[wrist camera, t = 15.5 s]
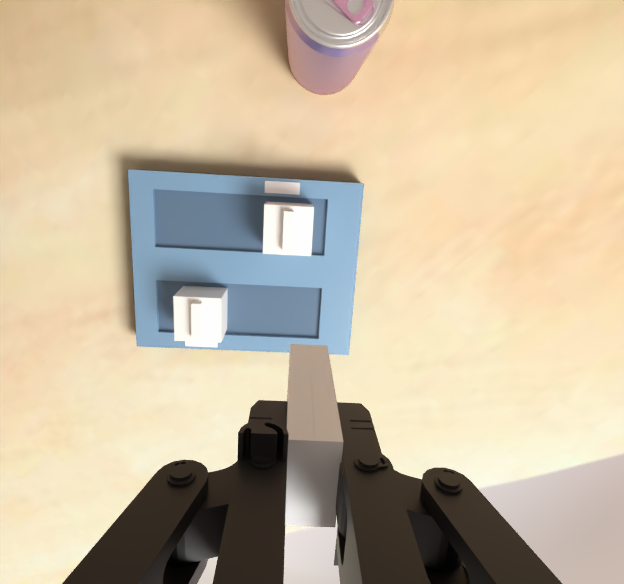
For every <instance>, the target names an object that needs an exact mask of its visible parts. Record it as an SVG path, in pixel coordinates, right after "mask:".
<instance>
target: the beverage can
mask: <svg viewBox="0 0 624 584" xmlns="http://www.w3.org/2000/svg"><path fill="white" fill-rule="evenodd" d="M393 5H394V0H285V14H286V29H287V44H288V58H289V65H290V68H291V71H292V74H293V76H294V77H295V79H296V80H297V82H298V83H299V84H300V85H301V86H302V87H303V88H305V89H306V90H308V91H310V92H312V93H315V94H319V95H330V94H334V93H337V92H339V91H341V90H343V89H344V88H345V87H347V86H348V85H349V84H350V83H351V81H352V80H353V79H354V77H355V75H356V74H357V72H358V71H359V69H360V68H361V66H362V64H363V63H364V61H365V60H366V58H367V57H368V55H369V53H370V52H371V50H372V49H373V47H374V45H375V44H376V42H377V41H378V39H379V38H380V36H381V34H382V33H383V31H384V30H385V28H386V26H387V24H388V22H389V20H390V17H391V14H392V10H393Z"/></svg>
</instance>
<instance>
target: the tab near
mask: <svg viewBox="0 0 624 584" xmlns="http://www.w3.org/2000/svg"><path fill="white" fill-rule="evenodd" d="M313 219H314V206H313V204H305V203H288V202H270V201H267V202H266V203H265V204H264V228H263V254H277V255H297V256H311V252H312V236H313Z"/></svg>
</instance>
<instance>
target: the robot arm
mask: <svg viewBox="0 0 624 584" xmlns="http://www.w3.org/2000/svg"><path fill="white" fill-rule="evenodd" d="M336 515H337V524H338V529H337V539H336V550H335V560H334V565H338V566H339V575H340V584H562V583H561V582H560V581H559V580H558V578H557V577H556V576H555V575H554V574H553V573H552V572H551V571H550V569H549V568H548V567H547V566H546V565H545V564H544V563H543V562H542V561H541V559H540V558H539V557H538V556H537V555H536V554H535V553H534V552H533V550H532V549H531V548H530V547H529V546H528V545H527V544H526V543H525V541H524V540H523V539H522V538H521V537H520V536H519V535H518V534H517V533H516V531H515V530H514V529H513V528H512V527H511V526H510V525H509V524H508V522H506V520H505V519H504V518H503V517H502V516H501V515H500V514H499V512H498V511H497V510H496V509H495V508H494V507H493V506H492V505H491V503H490V502H489V501H488V500H487V499H486V498H485V497H484V496H483V494H482V493H481V492H480V491H479V490H478V489H477V488H476V487H475V485H474V484H473V483H472V482H471V481H470V480H469V479H468V478H466V477H465V476H464V475H463V474H460V473H458V472H456V471H454V470H451V469H447V468H432V469H429V470H427V471H426V472H425V473H424V474H423V478H422V480H421V479H418V478H414V477H410V476H407V475H404V474H401V473H399V472H397V471H395V470H394V469H393V466H392V464H391V462H390V461H389V459H388V458H387V457H385V456H384V455H383V454H382V453H381V449H380V446H379V443H378V439H377V436H376V433H375V430H374V426H373V423H372V419H371V416H370V412H369V411H368V410H367V409H366V408H365V407H364V406H363V405H362V404H359V403H337V401H336V395H335V389H334V383H333V377H332V371H331V365H330V359H329V353H328V347H327V346H325V345H304V344H290V359H289V377H288V395H287V401H264V400H258V401H257V402H256V403H255V404H254V405H253V406H252V407H251V411H250V416H249V421H248V423H247V424H246V425H244V426H243V427H241V429H240V431H239V432H238V461H237V462H236V463H235V464H233V465H232V466H230V467H228V468H226V469H222V470H219V471H214V472H209V473H208V471H207V468H206V467H205V466H204V465H203V464H202V463H199V462H196V461H194V460H180V461H174V462H172V463H169V464H167V465H165V466H163V467H162V468H161V469H160V470H159V471H157V473H156V474H155V475H154V476H153V477H152V478H151V480H150V481H149V482H148V483H147V484H146V486H145V487H144V488H143V489H142V490H141V491H140V493H139V494H138V495H137V496H136V497H135V498H134V500H133V501H132V502H131V503H130V504H129V506H128V507H127V508H126V509H125V510H124V511H123V513H122V514H121V515H120V516H119V517H118V519H117V520H116V521H115V522H114V523H113V524H112V526H111V527H110V528H109V529H108V530H107V532H106V533H105V534H104V535H103V536H102V537H101V539H100V540H99V541H98V542H97V543H96V544H95V546H94V547H93V548H92V549H91V550H90V552H89V553H88V554H87V555H86V556H85V557H84V559H83V560H82V561H81V562H80V563H79V565H78V566H77V567H76V568H75V569H74V570H73V572H72V573H71V574H70V575H69V576H68V578H67V579H66V580H65V581H64V582H63V583H62V584H197V583H198V581H199V579H200V577H201V575H202V573H203V571H204V569H205V567H206V564H207V561H208V559H209V558H213V557H217V556H218V560H217V565H216V570H215V575H214V580H213V584H283V575H284V544H285V543H284V542H285V526H314V527H335V524H336Z"/></svg>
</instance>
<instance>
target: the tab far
mask: <svg viewBox="0 0 624 584" xmlns="http://www.w3.org/2000/svg"><path fill="white" fill-rule="evenodd" d="M227 299H228V288H223V287H202V286H183V287H182V288H181V289H180V290H179V291H178V292H177V293H176V294H175V295H174V296H173V304H174V341H193V342H217V343H221V342H222V340H223V337H224V335H225V333H226V330H227Z"/></svg>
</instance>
